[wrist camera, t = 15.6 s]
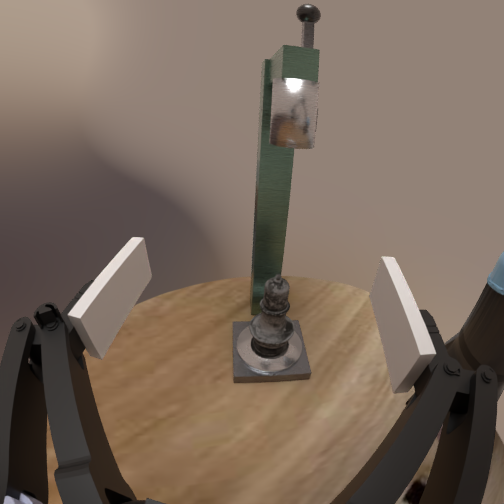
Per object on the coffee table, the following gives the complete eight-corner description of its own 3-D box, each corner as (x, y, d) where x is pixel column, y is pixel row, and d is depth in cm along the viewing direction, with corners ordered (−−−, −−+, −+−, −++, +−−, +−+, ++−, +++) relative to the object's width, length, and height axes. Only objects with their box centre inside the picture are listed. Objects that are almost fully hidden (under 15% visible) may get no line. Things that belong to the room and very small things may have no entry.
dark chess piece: (241, 336, 38) (243, 265, 32) (277, 324, 41) (287, 255, 34) (260, 367, 34) (267, 296, 28) (299, 351, 36) (315, 281, 30)
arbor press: (289, 298, 49) (318, 11, 25) (309, 379, 34) (374, -35, 10) (232, 298, 48) (241, 3, 24) (233, 382, 34) (246, -59, 10)
